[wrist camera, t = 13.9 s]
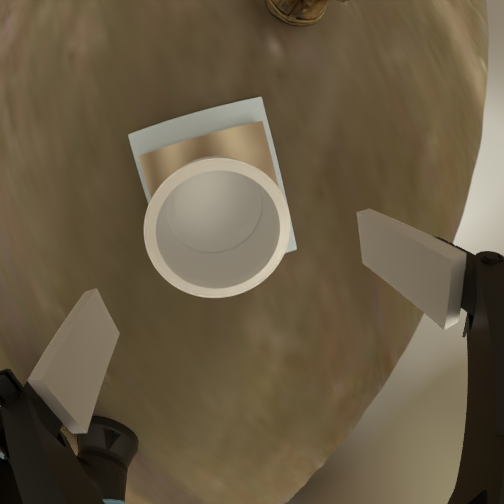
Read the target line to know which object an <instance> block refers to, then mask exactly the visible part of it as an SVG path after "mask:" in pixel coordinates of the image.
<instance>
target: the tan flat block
mask: <svg viewBox="0 0 504 504" xmlns="http://www.w3.org/2000/svg"><path fill="white" fill-rule="evenodd" d="M208 156H226V157H231V158H235V159H238V160H241V161H244V162H247V163H249V164H251V165H253V166H255V167H257V168H258V169H260V170H261V171H263V172H264V173H265V174H267V175H268V176H269V177H270V178H271V179H272V180H273V181H274V183H275V184H276V185H277V186H278V182H277V178H276V174H275V170H274V165H273V161H272V157H271V153H270V149H269V145H268V141H267V137H266V133H265V129H264V125H263V121H259V122H254V123H250V124H245V125H241V126H237V127H233V128H229V129H225V130H221V131H217V132H214V133H210V134H206V135H203V136H199V137H196V138H192V139H189V140H186V141H182V142H179V143H176V144H173V145H170V146H167V147H163V148H160V149H157V150H154V151H152V152H149V153H146V154H143V155H140V156H139V160H140V163H141V167H142V170H143V173H144V177H145V180H146V183H147V187H148V190H149V193H150V196H151V199H152V197H153V195H154V193H155V192H156V190H157V189H158V188H159V186H160V185H161V184H162V183H163V182H164V181H165V180H166V179H167V178H168V177H169V176H170V175H172V174H173V173H174V172H176V171H177V170H178V169H180V168H181V167H182V166H184V165H186V164H187V163H189V162H191V161H194V160H196V159H199V158H203V157H208ZM278 188H279V187H278ZM289 238H290V237H289Z"/></svg>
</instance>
